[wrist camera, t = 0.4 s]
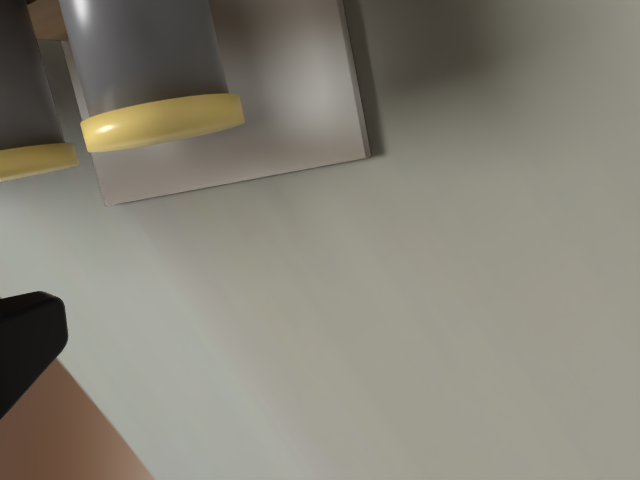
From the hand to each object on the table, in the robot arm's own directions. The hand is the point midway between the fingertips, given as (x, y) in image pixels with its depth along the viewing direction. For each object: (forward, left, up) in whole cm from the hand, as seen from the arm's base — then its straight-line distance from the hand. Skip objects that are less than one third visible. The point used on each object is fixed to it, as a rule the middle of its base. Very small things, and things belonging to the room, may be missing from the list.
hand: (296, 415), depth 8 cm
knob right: (+4, +11, -9) cm, 15 cm away
